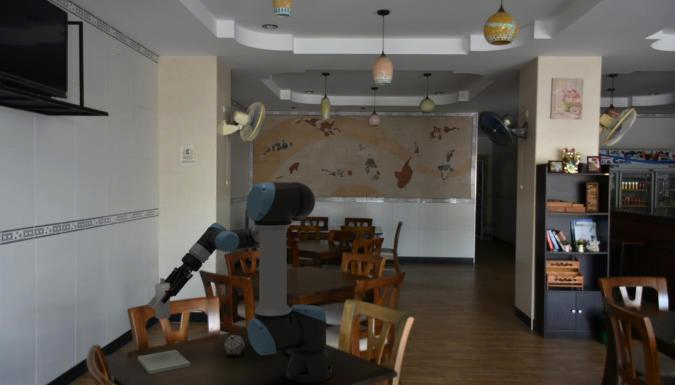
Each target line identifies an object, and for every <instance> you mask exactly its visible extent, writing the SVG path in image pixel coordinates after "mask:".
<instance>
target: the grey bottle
mask: <svg viewBox="0 0 675 385" xmlns="http://www.w3.org/2000/svg"><path fill="white" fill-rule="evenodd" d="M165 279H166V278H163V277H161V278H159V283H156V284H155V286H154V288H155V289H154V290H155V294H154V296H155V297H156V302H157V301H158V300H159V299H160V297H161V296H162V295H163V294H164V293H166V292H165V291H168V290H169V288H170V283H165ZM166 294H167V293H166ZM170 317H171V298H170V299H169V300H168V301H167V303H166V304H165V305H164V306H163V307H162V308H161V310H160V311H159V312H157V311H156V310H155V318H156V319H158V320H160V319H161V320H163V319H169V318H170Z"/></svg>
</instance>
